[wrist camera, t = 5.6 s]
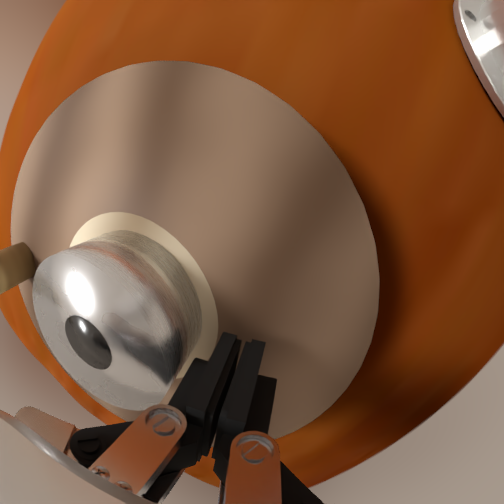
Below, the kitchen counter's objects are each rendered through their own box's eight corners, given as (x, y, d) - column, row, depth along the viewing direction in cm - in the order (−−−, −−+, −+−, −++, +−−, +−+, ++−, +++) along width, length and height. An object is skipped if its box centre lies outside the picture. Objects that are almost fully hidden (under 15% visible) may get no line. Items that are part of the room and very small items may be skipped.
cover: (214, 255, 10) (172, 295, 7) (193, 382, 13) (166, 433, 9) (80, 215, 11) (23, 233, 8) (86, 333, 13) (48, 365, 10)
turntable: (423, 118, 9) (523, 84, 2) (293, 456, 16) (282, 529, 9) (37, 91, 11) (-39, 86, 5) (50, 360, 18) (7, 399, 12)
